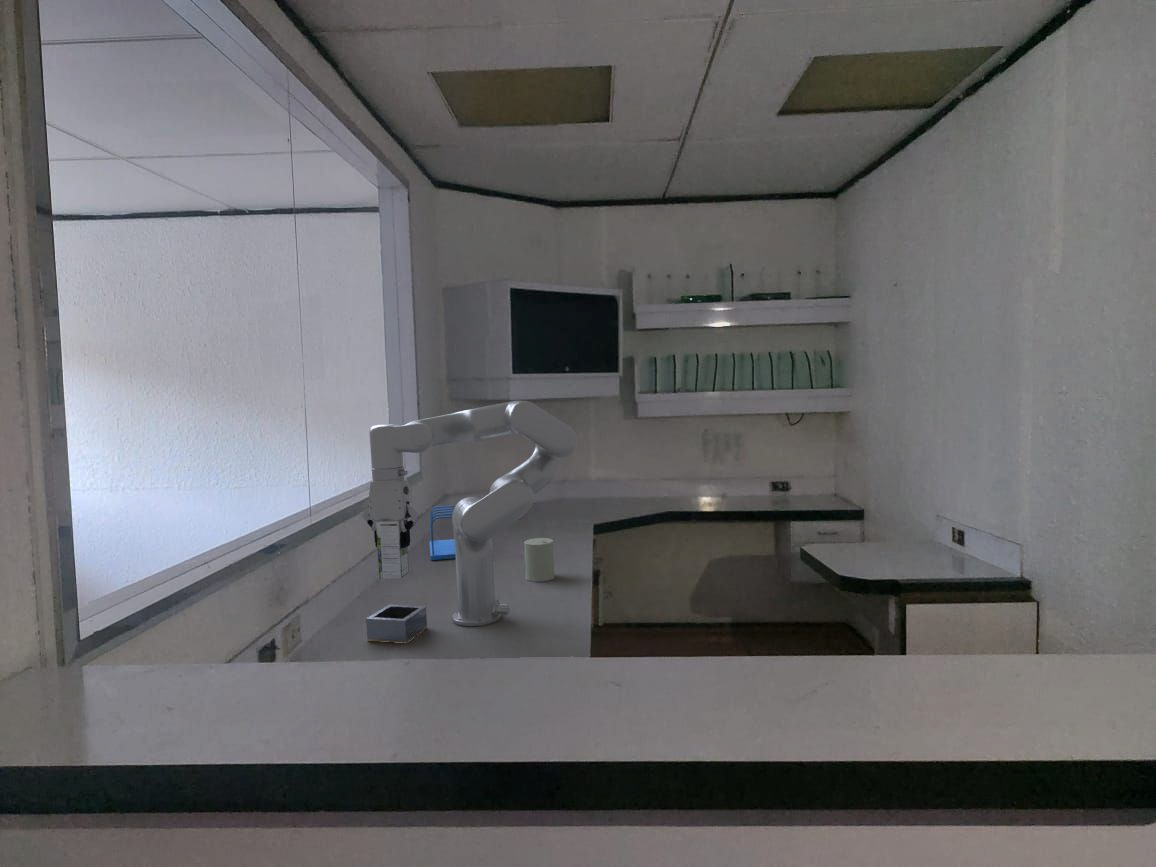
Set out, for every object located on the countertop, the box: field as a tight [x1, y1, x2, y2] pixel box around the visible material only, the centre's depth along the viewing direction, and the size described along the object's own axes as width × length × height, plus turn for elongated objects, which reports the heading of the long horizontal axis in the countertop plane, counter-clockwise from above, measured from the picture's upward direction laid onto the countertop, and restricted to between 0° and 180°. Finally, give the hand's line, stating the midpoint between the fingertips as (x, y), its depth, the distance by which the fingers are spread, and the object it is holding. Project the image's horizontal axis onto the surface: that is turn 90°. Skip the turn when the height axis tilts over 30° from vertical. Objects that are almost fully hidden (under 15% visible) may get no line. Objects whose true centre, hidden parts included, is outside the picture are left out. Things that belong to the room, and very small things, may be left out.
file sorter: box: [429, 504, 457, 561], centre depth 249 cm, size 25×17×15 cm
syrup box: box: [376, 520, 410, 580], centre depth 167 cm, size 6×6×14 cm
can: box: [523, 537, 556, 583], centre depth 210 cm, size 9×9×12 cm
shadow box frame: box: [365, 604, 428, 644], centre depth 165 cm, size 10×10×6 cm
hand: (392, 545), depth 167 cm, fingers closed on syrup box, 6 cm apart
